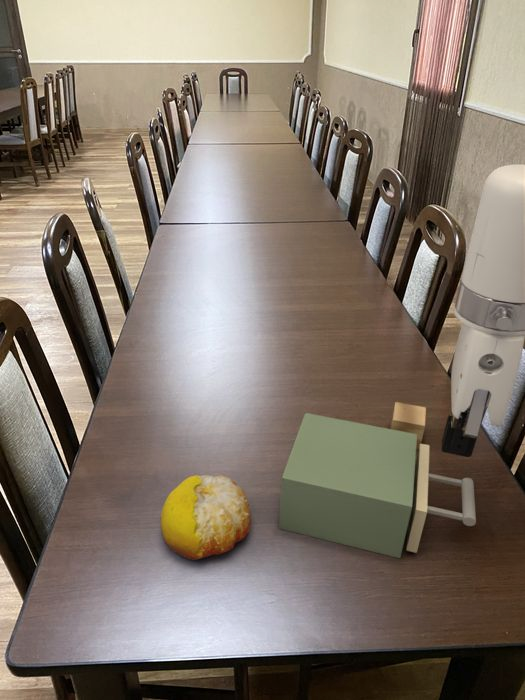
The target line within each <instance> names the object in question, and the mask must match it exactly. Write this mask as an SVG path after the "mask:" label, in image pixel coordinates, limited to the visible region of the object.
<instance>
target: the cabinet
mask: <svg viewBox="0 0 525 700" xmlns="http://www.w3.org/2000/svg"><path fill="white" fill-rule="evenodd" d="M416 446H417V434H413V433H407V432H402V431H397V430H392V429H391V428H386V427H381V426H377V425H370V424H366V423H360V422H356V421H351V420H345V419H340V418H334V417H330V416H324V415H318V414H314V413H308V412H304V414H303V418H302V421H301V424H300V426H299V429H298V432H297V434H296V437H295V439H294V443H293V445H292V449H291V451H290V454H289V456H288V459H287V462H286V465H285V468H284V471H283V473H282V476H281V485H280V500H279V501H280V505H279V507H280V508H279V522H278V529H280V530H283V531H287V532H292V533H294V534H295V533H296V534H299V535H303V536H307V537H312V538H316V539H320V540H323V541H328V542H332V543H336V544H339V545H343V546H344V545H345V546H348V547H352V548H356V549H362V550H364V551H368V552H373V553H377V554H381V555H384V556H389V557H393V558H396V559H401V557H402V553H403V549H404V544H405V540H406V537H407V532H408V523H409V519H410V514H411V510H412V504H413V489H414V475H415V463H416V459H417V449H416Z"/></svg>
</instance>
